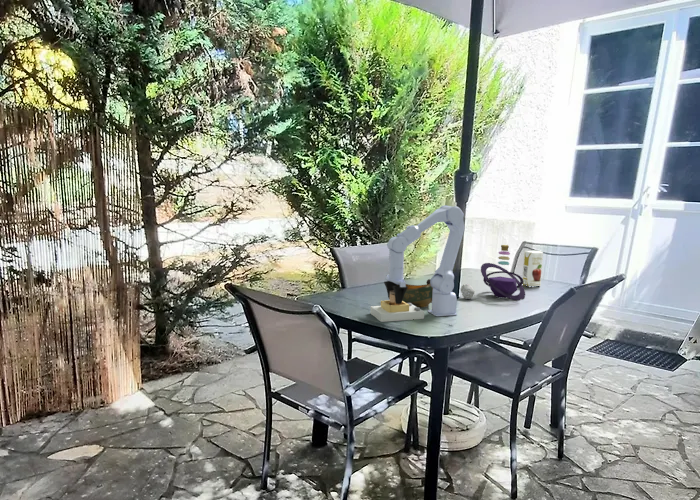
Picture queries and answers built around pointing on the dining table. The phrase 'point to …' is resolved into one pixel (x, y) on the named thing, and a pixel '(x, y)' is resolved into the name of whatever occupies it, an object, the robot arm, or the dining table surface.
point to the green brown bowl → (418, 295)
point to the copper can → (392, 298)
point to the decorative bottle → (503, 279)
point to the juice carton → (532, 268)
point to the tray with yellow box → (396, 312)
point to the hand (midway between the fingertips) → (394, 301)
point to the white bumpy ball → (467, 291)
